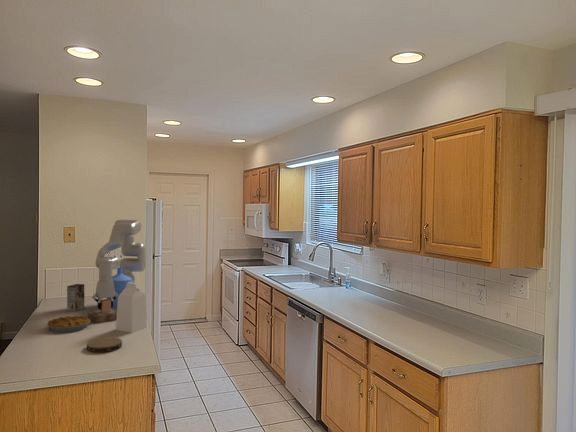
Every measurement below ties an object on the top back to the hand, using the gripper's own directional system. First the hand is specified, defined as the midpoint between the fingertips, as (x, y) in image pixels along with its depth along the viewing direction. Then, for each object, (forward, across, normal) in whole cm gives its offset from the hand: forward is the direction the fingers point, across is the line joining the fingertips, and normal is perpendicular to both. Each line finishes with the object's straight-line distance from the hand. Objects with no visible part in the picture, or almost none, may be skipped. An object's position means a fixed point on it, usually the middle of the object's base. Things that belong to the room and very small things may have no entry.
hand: (105, 308), depth 267 cm
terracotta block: (+2, 0, 0) cm, 2 cm away
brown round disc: (+7, +17, +53) cm, 56 cm away
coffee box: (+7, +8, -34) cm, 36 cm away
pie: (+7, +22, +7) cm, 24 cm away
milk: (+7, -5, +29) cm, 31 cm away
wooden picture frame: (+7, 0, 0) cm, 7 cm away
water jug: (+7, -14, -16) cm, 22 cm away
